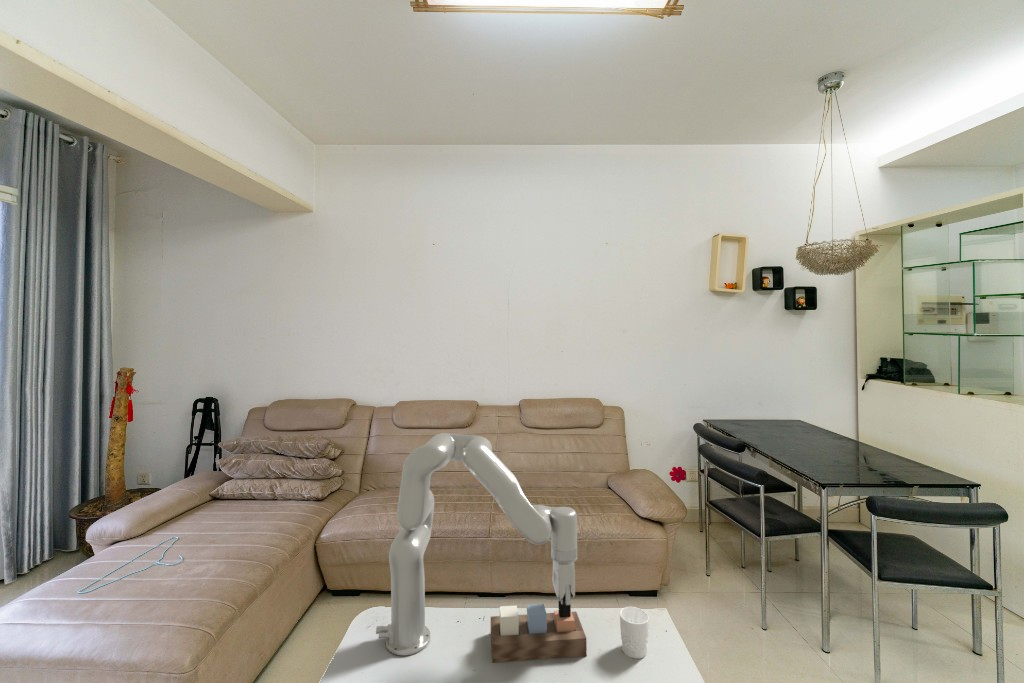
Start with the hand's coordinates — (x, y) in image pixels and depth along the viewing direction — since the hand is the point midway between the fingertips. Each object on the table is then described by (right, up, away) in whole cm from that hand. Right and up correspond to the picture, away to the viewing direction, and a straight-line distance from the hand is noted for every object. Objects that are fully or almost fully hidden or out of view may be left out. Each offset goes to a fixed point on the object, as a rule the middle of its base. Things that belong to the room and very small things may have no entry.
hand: (564, 615), depth 126 cm
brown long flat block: (-8, -8, -1) cm, 11 cm away
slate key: (-8, -4, -1) cm, 9 cm away
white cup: (+19, -8, -3) cm, 21 cm away
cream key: (-16, -4, -1) cm, 17 cm away
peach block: (0, -6, 0) cm, 6 cm away
